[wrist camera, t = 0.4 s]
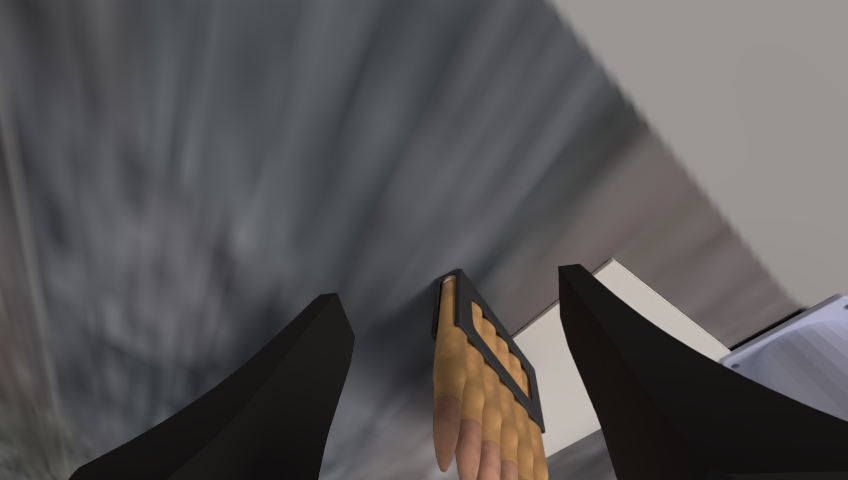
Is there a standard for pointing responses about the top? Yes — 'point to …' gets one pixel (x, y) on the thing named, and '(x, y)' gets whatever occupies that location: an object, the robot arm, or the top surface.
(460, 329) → the ammunition clip
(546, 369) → the mat
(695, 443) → the robot arm
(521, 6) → the top surface
